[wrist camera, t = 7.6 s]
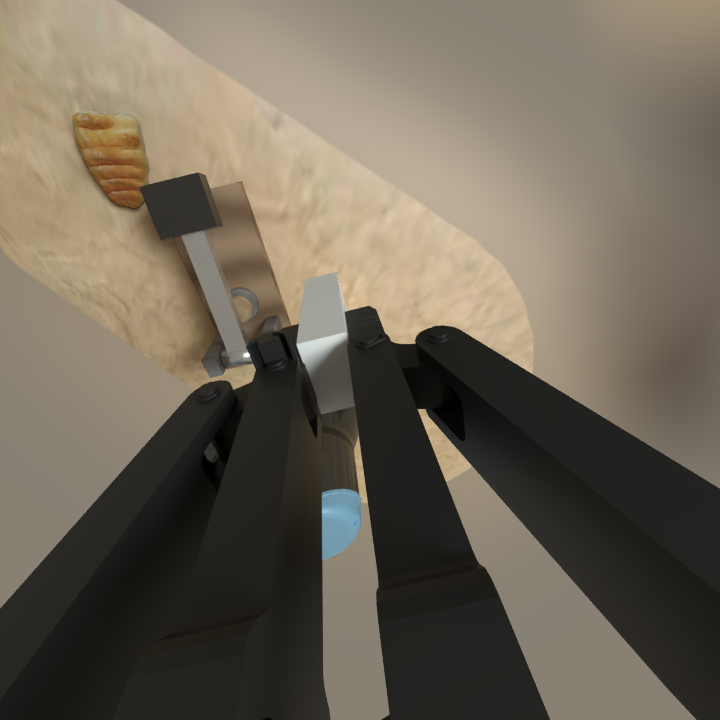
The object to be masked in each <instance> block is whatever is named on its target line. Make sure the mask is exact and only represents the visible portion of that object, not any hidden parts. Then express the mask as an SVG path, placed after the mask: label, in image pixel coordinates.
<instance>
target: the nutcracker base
mask: <svg viewBox="0 0 720 720" xmlns="http://www.w3.org/2000/svg"><path fill="white" fill-rule="evenodd" d="M210 190H211V193H212V195H213V198H214V201H215V204H216V207H217V210H218V213H219V215H220V218H221V221H222V224H223V227H219V228H214V229H210V230H208V232H209V235H210V237H211V240H212V243H213V246H214V248H215V251H216V254H217V257H218V259H219V262H220V265H221V267H222V270H223V273H224V276H225V278H226V281H227V284H228V287H229V289H230V292H231V295H232V297H233V300H234V303H235V306H236V308H237V311H238V314H239V317H240V319H241V322H242V325H243V327H244V330H245V333H246V336H247V338H248V341H249V342H250V341H252V340H253V339H254V338H256V337H258V336H260V335H262V334H265V333H268V332H273V331H280V330H281V329H282V328H285V327H289V326H291V323H290V320H289V317H288V314H287V311H286V308H285V305H284V303H283V300H282V297H281V294H280V291H279V288H278V285H277V282H276V279H275V276H274V273H273V270H272V268H271V265H270V262H269V259H268V256H267V253H266V250H265V247H264V244H263V241H262V238H261V235H260V232H259V230H258V227H257V224H256V221H255V218H254V215H253V212H252V209H251V206H250V203H249V200H248V197H247V195H246V192H245V189H244V186H243V183H242V181H241V182H236V183H232V184H228V185H224V186H220V187H216V188H212V189H210ZM173 240H174V242H175V244H176V246H177V248H178V250H179V253H180V255H181V257H182V259H183V261H184V263H185V265H186V267H187V270H188V272H189V274H190V276H191V278H192V280H193V282H194V284H195V287H196V289H197V291H198V293H199V295H200V297H201V299H202V301H203V304H204V306H205V308H206V310H207V312H208V314H209V316H210V318H211V321H212V323H213V325H214V327H215V329H216V331H217V333H218V335H217V337H216V338H215V340H214V341H213V343H212V345H211V346H210V348H209V350H208V351H207V353H206V355H205V356H204V358H203V359H202V363H203V365H204V367H205V369H206V371H207V373H208V375H209V377H210V378H211V377H216V376H220V375H223V374H224V371H225V369H226V367H225V366H224V364H223V362H222V358H221V352H222V350H225V349H226V347H225V345H224V342H223V340H222V337H221V335H220V332H219V330H218V327H217V325H216V322H215V320H214V317H213V315H212V312H211V310H210V307H209V304H208V302H207V299H206V297H205V294H204V292H203V289H202V287H201V284H200V282H199V279H198V277H197V274H196V272H195V269H194V267H193V264H192V262H191V259H190V257H189V254H188V252H187V249H186V247H185V244H184V242H183V239H182V236H181V237H177V238H173Z"/></svg>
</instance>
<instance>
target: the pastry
mask: <svg viewBox="0 0 720 720" xmlns="http://www.w3.org/2000/svg"><path fill="white" fill-rule="evenodd" d="M72 121H73V123H74V125H75V135H76V143H77V145H78V147H79V149H80V151H81V153H82V157H83V159H84V162H85V163H86V165H87V167H88V169H89V171H90V172H91V174H92V175H93V176H94V178H95V180H96V181H97V182H98V183H99V184H100V186H101V187H102V189H103V191H104V192H105V193H106V195H107V196H108V197H109V198H110V200H112V201H114V202H115V203H117V204H119V205H121V206H125V207H131V208H137V207H139V206H140V205H141V204H142V203H143V202H144V198H143V196H142V193H141V191H140V189H139V187H141V186H145V185H147V184H148V173H149V166H148V159H147V156H146V152H145V144H144V140H143V136H142V132H141V130H140V124H139V122H138V120H137V119H136V118H135V117H134V116H132V115H126V114H116V115H108V114H100V113H98V112H94V111H91V112H89V111H83V112H81V113H76V114H75V115H74V116H73V119H72Z"/></svg>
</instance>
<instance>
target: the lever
mask: <svg viewBox="0 0 720 720" xmlns="http://www.w3.org/2000/svg"><path fill="white" fill-rule="evenodd" d="M139 189H140V191H141V193H142V196H143V198H144V201H145V203H146V205H147V208H148V210H149V212H150V215H151V217H152V220H153V222H154V224H155V227H156V229H157V231H158V234H159V236H160V239H161V240H167V239H173V238H177V237H181V236H182V239H183V242H184V244H185V247H186V249H187V252H188V254H189V257H190V259H191V262H192V264H193V267H194V269H195V272H196V274H197V277H198V279H199V282H200V284H201V287H202V289H203V292H204V294H205V297H206V299H207V302H208V304H209V307H210V310H211V312H212V315H213V317H214V320H215V322H216V325H217V327H218V330H219V332H220V335H221V337H222V340H223V342H224V345H225V347H226V349H225V350H222V352H221V358H222V362H223V364H224V366H225V367H226V368H227V369H230V368H234V367H239V366H243V365H247V364H252V363H253V362H252V359H251V357H250V355H249V353H248V350H247V348H246V346H247V344H248V343H249V341H248V338H247V336H246V333H245V330H244V327H243V325H242V322H241V319H240V317H239V314H238V311H237V308H236V306H235V303H234V300H233V297H232V295H231V292H230V289H229V287H228V284H227V281H226V278H225V276H224V273H223V270H222V267H221V265H220V262H219V259H218V257H217V254H216V251H215V248H214V246H213V243H212V240H211V237H210V235H209V232H208V230H210V229H214V228H219V227H223V224H222V221H221V218H220V215H219V213H218V210H217V207H216V204H215V201H214V198H213V195H212V193H211V190H210V187H209V184H208V181H207V178H206V175H203V174H201V173H194V174H190V175H186V176H182V177H178V178H174V179H170V180H165V181H161V182H157V183H153V184H149V185H145V186H141V187H139Z"/></svg>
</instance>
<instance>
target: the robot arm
mask: <svg viewBox="0 0 720 720" xmlns="http://www.w3.org/2000/svg"><path fill="white" fill-rule="evenodd" d="M415 342H416V344H397V343H394V342H391V340H390V338H389V336H388V335H387V334H385V332H384V329H383V327H382V324H381V321H380V319H379V316H378V314H377V311H376V309H374V308H372V307H370V306H367V307H362V308H358V309H354V310H350V311H347V310H346V306H345V302H344V298H343V294H342V290H341V286H340V283H339V279H338V275H337V272H334V273H330V274H326V275H322V276H318V277H314V278H310V279H306V280H305V285H304V292H303V299H302V307H301V314H300V321H299V324H297V325H293V326H289V327H285V328H282V329H281V330H280V331H273V332H268V333H265V334H262V335H260V336H258V337H256V338H254V339H253V340H252V341H250V342H249V343H248V344H247V346H246V348H247V350H248V353H249V355H250V357H251V359H252V362H253V364H254V366H255V368H256V372H255V375H254V378H253V382H251V383H249V384H247V385H244V386H242V387H239V388H237V389H235V390H233V388H232V386H231V384H230V382H228V381H222V380H219V381H215V382H209V383H207V384H204V385H202V386H201V387H200V388H198V389H197V390H195V391H194V392H193V393H192V394H190V395H189V396H188V398H187V399H186V400H185V401H184V402H183V403H182V404H181V405H180V406H179V408H178V409H177V410H176V411H175V412H174V413H173V414H172V416H171V417H170V418H169V419H168V420H167V421H166V422H165V423H164V424H163V426H162V427H161V428H160V429H159V430H158V431H157V432H156V434H155V435H154V436H153V437H152V438H151V439H150V440H149V442H148V443H147V444H146V445H145V446H144V447H143V448H142V449H141V451H140V452H139V453H138V454H137V455H136V456H135V457H134V458H133V460H132V461H131V462H130V463H129V464H128V465H127V466H126V467H125V469H124V470H123V471H122V472H121V473H120V474H119V475H118V476H117V478H116V479H115V480H114V481H113V482H112V483H111V484H110V486H109V487H108V488H107V489H106V490H105V491H104V492H103V494H101V496H100V497H99V498H98V499H97V500H96V501H95V502H94V504H93V505H92V506H91V507H90V508H89V509H88V510H87V512H86V513H85V514H84V515H83V516H82V517H81V518H80V520H78V522H77V523H76V524H75V525H74V526H73V527H72V528H71V529H70V531H69V532H68V533H67V534H66V535H65V536H64V537H63V539H62V540H61V541H60V542H59V543H58V544H57V545H56V547H55V548H54V549H53V550H52V551H51V552H50V553H49V554H48V555H47V557H46V558H45V559H44V560H43V561H42V562H41V563H40V564H39V566H38V567H37V568H36V569H35V570H34V571H33V573H32V574H31V575H30V576H29V577H28V578H27V579H26V580H25V581H24V583H23V584H22V585H21V586H20V587H19V588H18V589H17V590H16V592H15V593H14V594H13V595H12V596H11V597H10V598H9V599H8V601H7V602H6V603H5V604H4V605H3V606H2V607H1V609H0V720H330V712H329V707H328V702H327V698H326V693H325V688H324V680H323V611H322V610H323V609H322V608H323V605H322V604H323V603H322V600H323V599H322V560H325V559H327V558H329V557H332V556H334V555H336V554H338V553H340V552H341V551H343V550H344V549H346V548H347V547H348V546H349V545H350V544H351V543H352V542H353V541H354V539H355V538H356V536H357V534H358V533H359V530H360V526H361V497H360V495H359V487H358V479H357V471H356V463H355V455H354V448H355V445H356V442H357V439H358V436H359V440H360V447H361V455H362V462H363V469H364V477H365V484H366V491H367V499H368V506H369V513H370V521H371V528H372V535H373V543H374V549H375V557H376V564H377V571H378V584H379V587H378V589H377V592H376V595H377V596H376V597H377V612H378V623H379V630H380V639H381V647H382V656H383V663H384V672H385V679H386V688H387V696H388V704H389V712H390V715H388V716H387V717H385V718H384V719H382V720H550V718H549V716H548V714H547V711H546V709H545V706H544V704H543V701H542V699H541V697H540V694H539V692H538V689H537V687H536V684H535V682H534V680H533V677H532V675H531V672H530V670H529V667H528V665H527V662H526V660H525V657H524V655H523V653H522V650H521V648H520V645H519V643H518V641H517V638H516V636H515V633H514V631H513V629H512V626H511V624H510V621H509V619H508V616H507V614H506V611H505V609H504V606H503V604H502V602H501V599H500V597H499V594H498V592H497V590H496V588H495V586H494V583H493V581H492V579H491V577H490V575H489V574H488V572H487V570H486V569H485V567H483V566H481V565H480V564H479V563H478V561H477V559H476V557H475V555H474V552H473V550H472V548H471V545H470V542H469V540H468V537H467V535H466V532H465V530H464V528H463V525H462V522H461V520H460V517H459V515H458V512H457V509H456V507H455V504H454V502H453V499H452V496H451V494H450V492H449V489H448V486H447V484H446V481H445V478H444V476H443V473H442V471H441V468H440V466H439V463H438V461H437V458H436V455H435V453H434V450H433V448H432V445H431V443H430V440H429V438H428V435H427V432H426V430H425V427H424V425H423V422H422V420H421V417H420V414H419V412H418V409H426V412H427V414H428V416H429V417H430V418H431V419H432V421H433V422H434V423H435V424H436V425H437V426H438V427H439V429H440V430H441V431H442V432H443V433H444V434H445V435H446V437H447V438H448V439H449V440H450V441H451V442H452V443H453V444H454V446H455V447H456V448H457V449H458V450H459V451H460V452H461V454H462V455H463V456H464V457H465V458H466V459H467V460H468V462H469V463H470V464H471V465H472V466H473V467H474V468H475V469H476V471H477V472H478V473H479V474H480V475H481V476H482V478H483V479H484V480H485V481H486V482H487V483H488V484H489V485H490V487H491V488H492V489H493V490H494V491H495V492H496V494H497V495H498V496H499V497H500V498H501V499H502V500H503V502H504V503H505V504H506V505H507V506H508V507H509V508H510V509H511V511H512V512H513V513H514V514H515V515H516V516H517V517H518V519H519V520H520V521H521V522H522V523H523V524H524V525H525V527H526V528H527V529H528V530H529V531H530V532H531V533H532V535H534V537H535V538H536V539H537V540H538V541H539V543H540V544H541V545H542V546H543V547H544V548H545V549H546V550H547V552H548V553H549V554H550V555H551V556H552V557H553V559H554V560H555V561H556V562H557V563H558V564H559V565H560V566H561V567H562V569H563V570H564V571H565V572H566V573H567V574H568V576H569V577H570V578H571V579H572V580H573V581H574V582H575V584H576V585H577V586H578V587H579V588H580V589H581V590H582V592H583V593H584V594H585V595H586V596H587V597H588V598H589V599H590V601H591V602H592V603H593V604H594V605H595V606H596V608H597V609H598V610H599V611H600V612H601V613H602V614H603V615H604V617H605V618H606V619H607V620H608V621H609V622H610V623H611V624H612V626H613V627H614V628H615V629H616V630H617V631H618V633H619V634H620V635H621V636H622V637H623V638H624V639H625V641H626V642H627V643H628V644H629V645H630V646H631V647H632V649H633V650H634V651H635V652H636V653H637V654H638V655H639V657H641V659H642V660H643V661H644V662H645V663H646V665H647V666H648V667H649V668H650V669H651V670H652V671H653V672H654V674H655V675H656V676H657V677H658V678H659V679H660V680H661V682H662V683H663V684H664V685H665V686H666V687H667V688H668V689H669V691H670V692H671V693H672V694H673V695H674V696H675V697H676V698H677V699H678V700H679V701H680V702H681V703H682V705H684V707H685V708H686V709H687V710H688V711H689V712H690V713H691V714H692V715H693V716H694V717H695V718H696V719H697V720H720V489H719V488H718V487H716V486H715V485H713V484H711V483H710V482H708V481H706V480H705V479H703V478H701V477H700V476H698V475H697V474H695V473H693V472H692V471H690V470H688V469H686V468H685V467H683V466H682V465H680V464H678V463H677V462H675V461H674V460H672V459H670V458H669V457H667V456H665V455H664V454H662V453H661V452H659V451H657V450H656V449H654V448H652V447H651V446H649V445H647V444H646V443H644V442H642V441H641V440H639V439H638V438H636V437H634V436H633V435H631V434H629V433H628V432H626V431H624V430H623V429H621V428H620V427H618V426H616V425H615V424H613V423H611V422H610V421H608V420H607V419H605V418H603V417H602V416H600V415H598V414H597V413H595V412H593V411H592V410H590V409H589V408H587V407H585V406H584V405H582V404H580V403H579V402H577V401H575V400H574V399H572V398H570V397H569V396H567V395H566V394H564V393H562V392H561V391H559V390H557V389H556V388H554V387H553V386H551V385H549V384H547V383H546V382H544V381H543V380H541V379H539V378H538V377H536V376H535V375H533V374H531V373H530V372H528V371H526V370H525V369H523V368H521V367H520V366H518V365H517V364H515V363H513V362H512V361H510V360H508V359H507V358H505V357H504V356H502V355H500V354H499V353H497V352H495V351H494V350H492V349H490V348H489V347H487V346H486V345H484V344H482V343H481V342H479V341H477V340H476V339H474V338H472V337H471V336H469V335H468V334H466V333H464V332H463V331H461V330H459V329H457V328H454V327H450V326H434V327H432V328H428V329H426V330H424V331H422V332H420V333H419V334H418V335H417V336H416V340H415Z"/></svg>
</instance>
